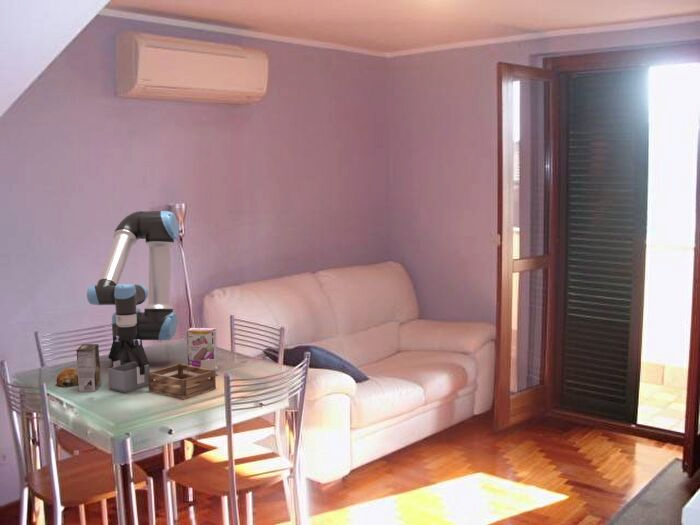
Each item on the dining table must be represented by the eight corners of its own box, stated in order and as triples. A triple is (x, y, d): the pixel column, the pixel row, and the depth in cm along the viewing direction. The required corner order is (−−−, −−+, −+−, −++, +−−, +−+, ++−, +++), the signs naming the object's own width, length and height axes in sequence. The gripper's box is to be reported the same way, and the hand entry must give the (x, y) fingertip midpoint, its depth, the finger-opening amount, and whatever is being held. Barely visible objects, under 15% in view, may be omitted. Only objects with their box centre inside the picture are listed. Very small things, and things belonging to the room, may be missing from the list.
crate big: (148, 390, 292) (147, 372, 291) (180, 380, 305) (180, 363, 304) (183, 399, 281) (183, 380, 280) (215, 388, 294) (215, 370, 293)
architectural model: (199, 376, 312) (198, 358, 311) (216, 374, 314) (216, 356, 313) (201, 378, 309) (200, 360, 308) (218, 377, 311) (217, 358, 310)
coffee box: (84, 385, 301) (81, 344, 299) (101, 384, 301) (99, 343, 299) (78, 392, 292) (75, 349, 290) (95, 391, 292) (93, 349, 290)
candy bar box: (187, 369, 321) (186, 330, 319) (191, 366, 326) (189, 327, 324) (214, 369, 320) (213, 330, 318) (217, 366, 325) (216, 327, 323)
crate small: (109, 389, 295) (108, 368, 293) (134, 381, 304) (133, 361, 303) (124, 393, 289) (123, 372, 288) (150, 385, 299) (149, 364, 298)
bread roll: (87, 391, 305) (91, 371, 307) (70, 387, 296) (75, 366, 298) (66, 389, 308) (70, 369, 310) (49, 385, 299) (54, 364, 301)
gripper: (97, 323, 298) (100, 377, 300) (140, 330, 283) (143, 387, 286) (113, 320, 304) (116, 373, 306) (156, 326, 289) (159, 382, 292)
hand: (129, 380), depth 296 cm, fingers open, 13 cm apart
